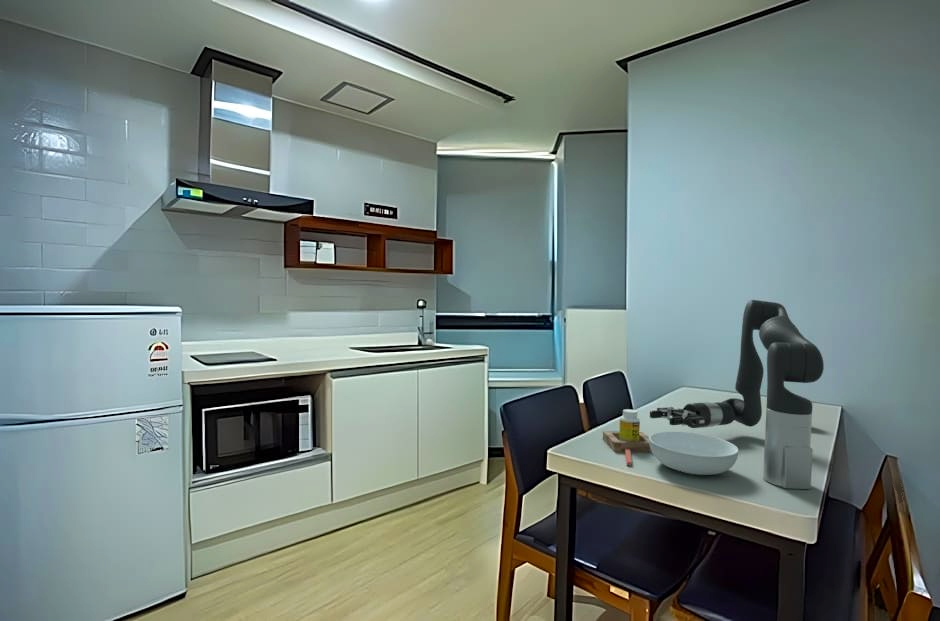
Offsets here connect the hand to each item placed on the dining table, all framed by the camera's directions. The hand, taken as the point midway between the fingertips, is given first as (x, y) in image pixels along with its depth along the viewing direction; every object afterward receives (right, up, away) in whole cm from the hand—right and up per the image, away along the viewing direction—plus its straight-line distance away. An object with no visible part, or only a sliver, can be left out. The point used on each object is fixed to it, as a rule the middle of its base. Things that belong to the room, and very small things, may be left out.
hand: (660, 417), depth 152 cm
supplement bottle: (-10, -8, -3) cm, 13 cm away
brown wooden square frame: (-11, -7, -3) cm, 13 cm away
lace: (-15, -8, -16) cm, 23 cm away
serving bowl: (-1, -8, -22) cm, 24 cm away
